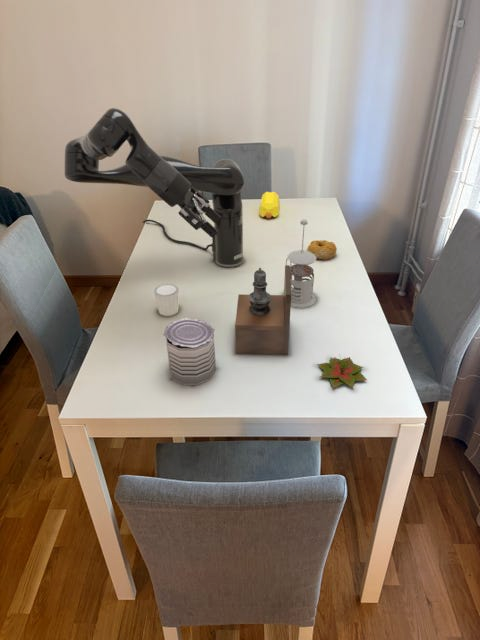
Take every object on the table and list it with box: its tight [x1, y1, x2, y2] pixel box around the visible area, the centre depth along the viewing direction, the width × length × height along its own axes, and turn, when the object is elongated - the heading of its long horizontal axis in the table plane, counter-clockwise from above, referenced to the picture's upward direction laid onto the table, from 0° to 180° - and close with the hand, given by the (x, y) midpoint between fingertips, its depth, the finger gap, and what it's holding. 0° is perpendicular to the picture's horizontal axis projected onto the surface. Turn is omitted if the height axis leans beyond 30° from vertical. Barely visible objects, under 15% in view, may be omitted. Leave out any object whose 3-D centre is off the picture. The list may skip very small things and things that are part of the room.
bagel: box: [306, 239, 338, 261], centre depth 166 cm, size 10×11×5 cm
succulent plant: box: [316, 353, 368, 389], centre depth 115 cm, size 12×12×5 cm
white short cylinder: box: [153, 283, 180, 317], centre depth 138 cm, size 7×7×7 cm
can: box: [162, 317, 217, 386], centre depth 115 cm, size 11×11×12 cm
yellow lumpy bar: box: [258, 191, 280, 219], centre depth 196 cm, size 18×7×8 cm
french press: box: [285, 218, 317, 309], centre depth 138 cm, size 10×12×25 cm
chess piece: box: [248, 267, 272, 315], centre depth 120 cm, size 6×6×12 cm
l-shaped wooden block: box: [234, 264, 292, 356], centre depth 123 cm, size 13×14×18 cm
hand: (216, 227), depth 122 cm, fingers open, 8 cm apart
